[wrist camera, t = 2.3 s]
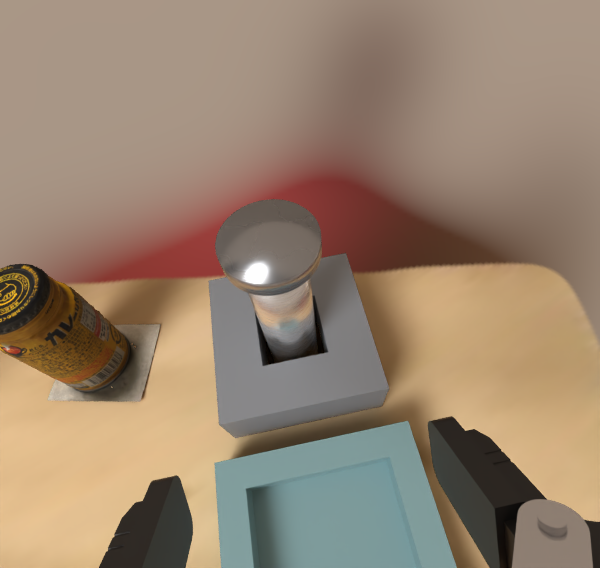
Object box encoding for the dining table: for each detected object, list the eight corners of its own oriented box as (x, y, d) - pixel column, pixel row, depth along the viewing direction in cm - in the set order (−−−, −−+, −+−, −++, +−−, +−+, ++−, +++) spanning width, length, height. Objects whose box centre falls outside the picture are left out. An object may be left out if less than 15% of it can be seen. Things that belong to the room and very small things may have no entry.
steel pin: (269, 390, 32) (219, 293, 19) (260, 331, 35) (211, 210, 21) (333, 376, 32) (332, 270, 19) (319, 319, 35) (309, 191, 22)
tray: (245, 732, 22) (233, 759, 19) (225, 467, 29) (214, 462, 27) (480, 675, 22) (498, 695, 20) (401, 429, 30) (408, 420, 27)
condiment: (77, 325, 37) (-20, 252, 27) (161, 325, 36) (93, 249, 26) (49, 401, 33) (-77, 348, 23) (141, 402, 33) (54, 349, 22)
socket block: (235, 438, 30) (219, 424, 26) (223, 308, 37) (208, 280, 33) (381, 406, 31) (389, 388, 27) (344, 283, 37) (346, 253, 33)
